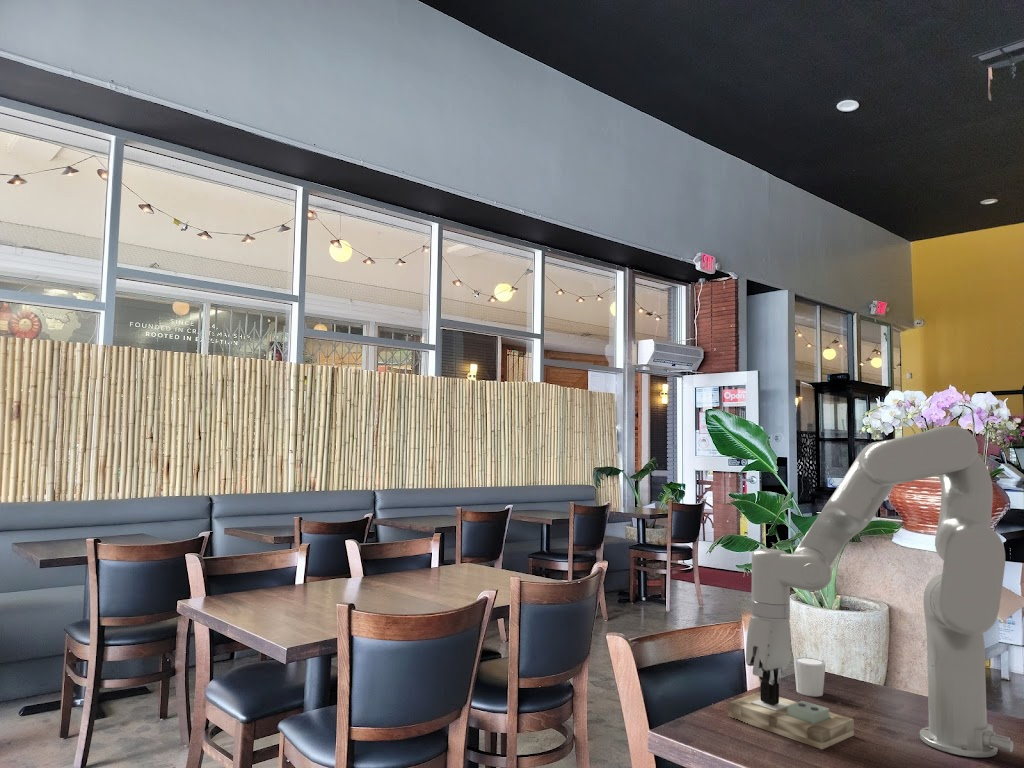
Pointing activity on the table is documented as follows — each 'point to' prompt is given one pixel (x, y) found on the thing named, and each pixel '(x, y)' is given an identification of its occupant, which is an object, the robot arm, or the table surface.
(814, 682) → the white cup
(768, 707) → the one dot tile
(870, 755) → the table surface
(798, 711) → the two dot tile
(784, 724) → the tile board
